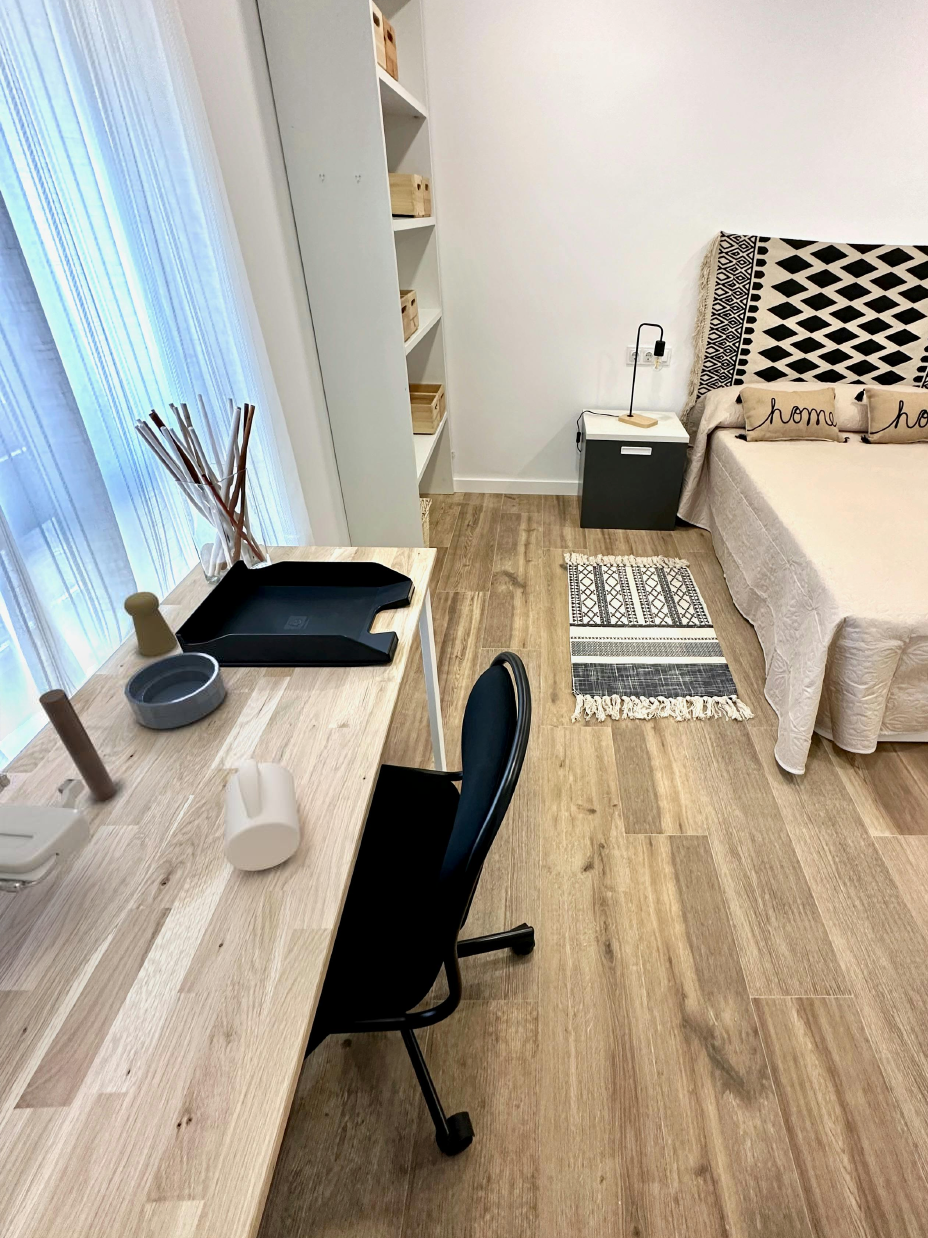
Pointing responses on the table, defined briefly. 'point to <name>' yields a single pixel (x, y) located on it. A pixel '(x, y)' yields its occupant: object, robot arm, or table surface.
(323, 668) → the table surface
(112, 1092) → the table surface
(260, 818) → the mug
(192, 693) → the bowl
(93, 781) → the brown cylindrical rod
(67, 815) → the robot arm
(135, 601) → the pepper mill
